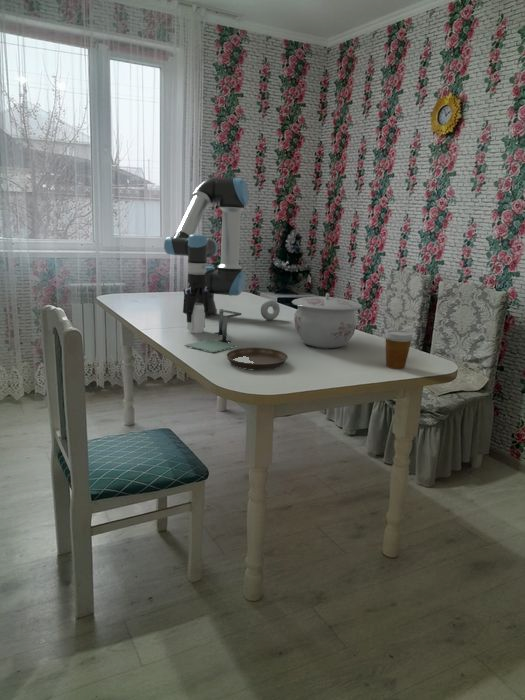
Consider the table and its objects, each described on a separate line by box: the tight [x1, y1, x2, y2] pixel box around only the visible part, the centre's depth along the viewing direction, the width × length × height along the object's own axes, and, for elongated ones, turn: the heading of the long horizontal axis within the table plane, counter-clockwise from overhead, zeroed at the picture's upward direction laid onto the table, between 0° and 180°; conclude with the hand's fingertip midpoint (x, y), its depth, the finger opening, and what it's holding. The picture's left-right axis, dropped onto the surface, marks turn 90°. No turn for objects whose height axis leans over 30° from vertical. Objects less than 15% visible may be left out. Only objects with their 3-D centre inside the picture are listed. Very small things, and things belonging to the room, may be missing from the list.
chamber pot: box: [291, 292, 363, 350], centre depth 211 cm, size 28×28×21 cm
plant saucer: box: [225, 347, 288, 371], centre depth 181 cm, size 21×21×3 cm
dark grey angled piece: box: [214, 308, 242, 343], centre depth 215 cm, size 14×14×10 cm
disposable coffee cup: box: [384, 329, 414, 370], centre depth 185 cm, size 10×10×12 cm
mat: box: [184, 338, 238, 352], centre depth 201 cm, size 14×14×1 cm
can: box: [187, 303, 205, 334], centre depth 223 cm, size 6×6×12 cm
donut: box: [260, 299, 281, 321], centre depth 257 cm, size 10×4×10 cm, turn 117°
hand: (196, 328), depth 225 cm, fingers closed on can, 6 cm apart
